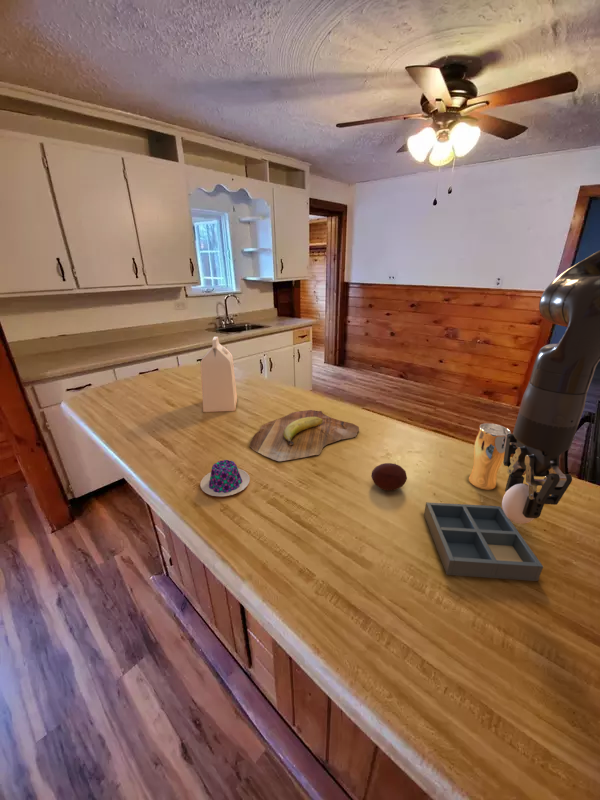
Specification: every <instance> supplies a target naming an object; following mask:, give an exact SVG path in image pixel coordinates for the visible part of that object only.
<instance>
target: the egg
mask: <svg viewBox="0 0 600 800" xmlns="http://www.w3.org/2000/svg"><path fill="white" fill-rule="evenodd" d="M528 496H529V484H528V483H523V484H516V485H514V486H512V487H511V488H510V489H508V490H507V491H506V492H504V495H503V497H502V500H501V508H502V509H503V511H504V513H505V515H506V516H507V517H508V518H509V519H510V521H511V522H512V523H515V524H518V525H519V524H520V525H525V524H528V523H531V522H533V520H535V519H536V518H526V517H525V516H524V515H523V509H524V506H525V503H526V500H527V497H528Z"/></svg>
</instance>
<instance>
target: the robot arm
mask: <svg viewBox="0 0 600 800" xmlns="http://www.w3.org/2000/svg"><path fill="white" fill-rule="evenodd" d="M538 309H539V310H538V311H539V314H540V315H541V317H542V318H543V319H544V320H545V321H547V322H548V323H550V324H552V325H556V326H559V327H565V328H566V330H565V332H564V334H563V335H562V337H561V338H560V339H559V341H558V342H557V343H548V344H546V345H543V346H542V347H541V348H539V350H538V351H537V354H536V356H535V359H534V363H533V366H532V370H531V373H530V377H529V381H528V384H527V386H526V388H525V391H524V393H523V395H522V398H521V402H520V406H519V409H518V414H517V416H516V421H515V423H514V427H513V431H512V433H511V434H507V439H506V446H505V454H504V460H503V462H502V464H503V466H504V467H507V475H508V477H507V481H506V484H505V489H504V491H505V492H504V493H506V491H507V490H508V489H510V488H511V487H512V486H514V485H516V484H524V481H525V483H526V484H527V485H529V496H528V497H527V500H526V503H525V506H524V509H523V515H524V516H525V517H526V518H535V519H538V518H540V516H541V515H542V512H543V508H544V505H553V506H556V505H558V503H559V502H560V501H561V500H562V498H563V496H564V494H565V493H566V491H567V490H568V488H569V487H570V485H571V484H572V483H573V476H572V475H571V474H569V473H564V472H562V470H561V469H560V468H559V467H560V456H561V455H562V454H563V453H565V452H566V451H569V450H570V448H571V447H572V444H573V441H574V438H575V436H576V433H577V430H578V427H579V424H580V422H581V419H582V416H583V412H584V410H585V407H586V401H587V395H588V391H589V388H590V385H591V383H592V381H593V377H594V374H595V372H596V368H597V366H598V364H599V362H600V250H597V251H596V252H595V253H593V254H591V255H589V256H588V257H586V258H585V259H583V260H581V261H579V262H578V263H576V264H574V265H572V266H571V267H570V268H567V269H565V271H563V272H562V273H561V274H559V275H558V276H556V277H555V278H554V279H553V280H552V281H551V282H550V283H549V284H548V286H547V287H546V288H545V290H544V291H543V293H542V294H541V297H540V299H539V304H538ZM512 455H513V456H512ZM524 476H525V477H524ZM535 477H536V478H535ZM537 477H539V478H540V479H539V478H537ZM543 477H544V478H543ZM541 478H543V479H541ZM538 486H541V488H540V489H539V491H537V489H538V488H537V487H538Z"/></svg>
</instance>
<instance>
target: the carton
mask: <svg viewBox="0 0 600 800" xmlns="http://www.w3.org/2000/svg"><path fill="white" fill-rule="evenodd" d="M423 516H424V519H425V521H426V524H427V526H428V530H429V532H430V534H431V537H432V540H433V542H434V545H435V547H436V550H437V553H438V556H439V558H440V561H441V563H442V566H443V568H444V572H445V574H446V576H459V577H473V578H485V579H486V578H487V579H488V578H489V579H500V580H515V581H516V580H518V581H530V582H539V580H540V577H541V574H542V571H543V569H544V565H543V564H542V563H541V561H540V560H539V559H538V557H537V555H536V554H535V553H534V551H533V550H532V549H531V548H530V546H529V544H528V543H527V542H526V540H525V538H523V536H522V534H521V533H520V532H519V531H518V528H516V526H515V524H514V522H513V521H511V520H510V519H509V518H508V517H507V516H506V515H505V513H504V511H503V508H502V506H500V505H499V506H498V505H486V504H485V505H484V504H466V503H465V504H464V503H445V502H444V503H443V502H431V501H430V502H425V505H424V513H423Z"/></svg>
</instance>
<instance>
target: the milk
mask: <svg viewBox="0 0 600 800" xmlns="http://www.w3.org/2000/svg"><path fill="white" fill-rule="evenodd" d="M211 345H212V346H211V347H210V349H208V351H206V353H205V354H204V355H203V356H202V358H201V360H200V377H201V378H200V379H201V395H202V396H201V397H202V411H203V413H211V412H214V413H215V412H216V413H217V412H235V411H236V407H237V402H238V394H237V393H238V392H237V385H236V375H235V374H236V373H235V366H234V364H235V363H234V357H233V356H234V355H233V354H232V353H231V352H230V351H229V349H227V347H225V346H223V345H222V344H221V343H220V340H219V336H213V338H212V340H211Z"/></svg>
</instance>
